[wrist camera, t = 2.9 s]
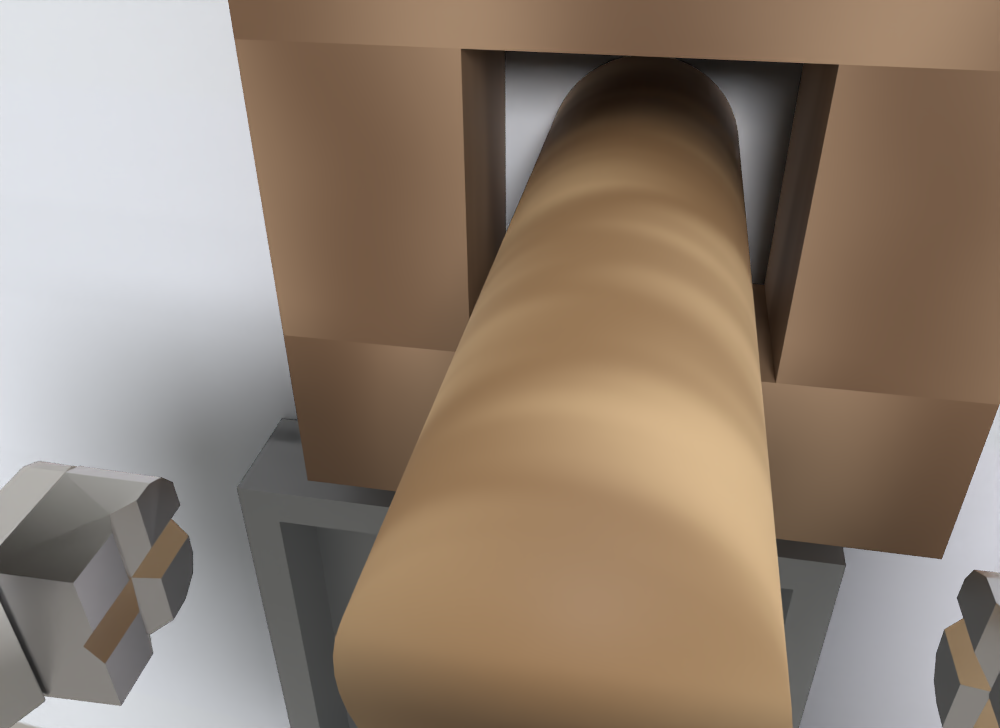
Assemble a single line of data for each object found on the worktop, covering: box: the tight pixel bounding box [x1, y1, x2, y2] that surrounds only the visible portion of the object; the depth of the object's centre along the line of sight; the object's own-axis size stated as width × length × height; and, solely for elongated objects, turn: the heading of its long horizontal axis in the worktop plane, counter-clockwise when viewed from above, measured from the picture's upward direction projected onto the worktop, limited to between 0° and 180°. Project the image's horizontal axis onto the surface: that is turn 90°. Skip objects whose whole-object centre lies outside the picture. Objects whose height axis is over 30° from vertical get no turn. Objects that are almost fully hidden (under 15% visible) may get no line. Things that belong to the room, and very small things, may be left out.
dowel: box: [333, 56, 793, 728], centre depth 14 cm, size 4×4×14 cm
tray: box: [237, 419, 846, 728], centre depth 27 cm, size 15×15×3 cm
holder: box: [228, 0, 1000, 559], centre depth 18 cm, size 14×14×4 cm
